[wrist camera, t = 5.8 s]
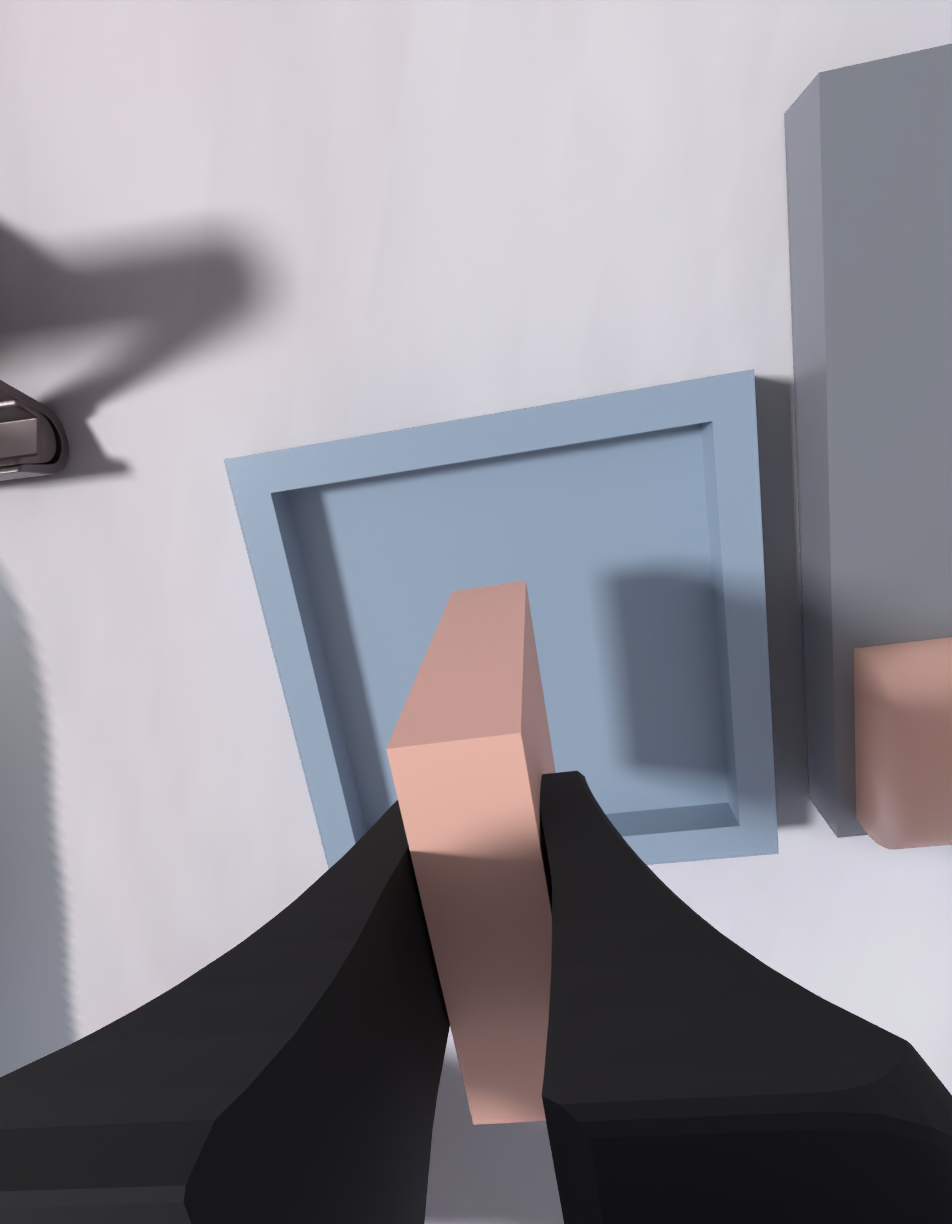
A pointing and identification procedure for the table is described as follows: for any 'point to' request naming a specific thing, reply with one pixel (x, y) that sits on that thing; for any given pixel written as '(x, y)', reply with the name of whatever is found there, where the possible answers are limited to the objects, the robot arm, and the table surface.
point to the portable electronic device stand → (29, 437)
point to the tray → (537, 599)
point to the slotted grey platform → (875, 440)
